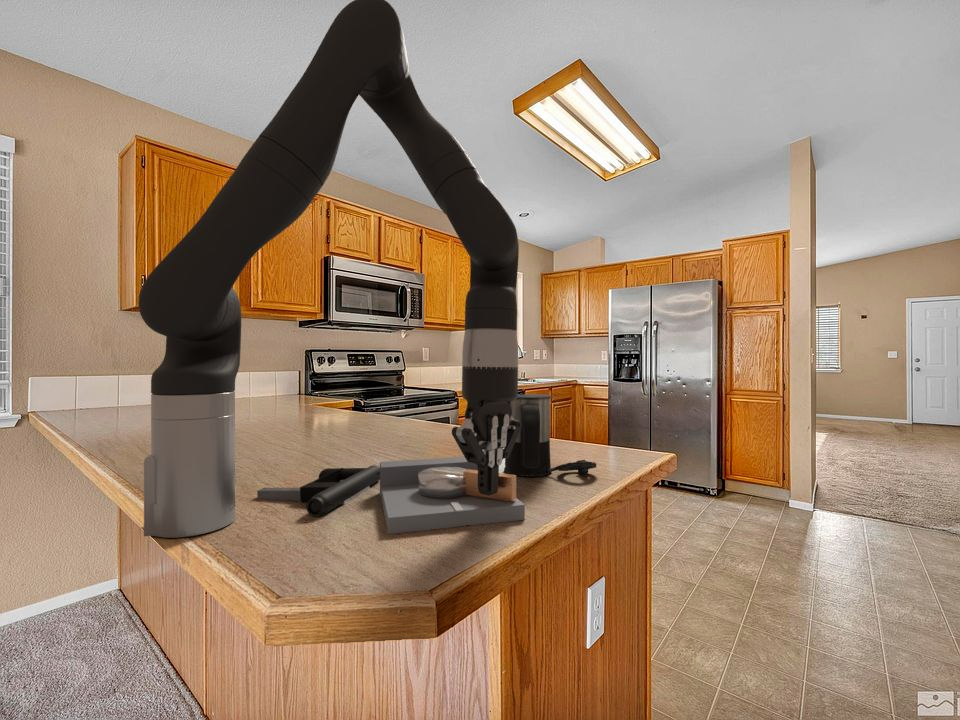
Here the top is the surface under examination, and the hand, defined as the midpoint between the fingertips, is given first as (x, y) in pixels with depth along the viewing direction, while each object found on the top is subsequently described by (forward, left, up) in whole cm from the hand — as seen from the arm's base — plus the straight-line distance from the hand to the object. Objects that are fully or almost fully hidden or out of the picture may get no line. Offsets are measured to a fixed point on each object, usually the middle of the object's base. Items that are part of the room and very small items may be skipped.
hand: (488, 493), depth 60 cm
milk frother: (+18, +21, -4) cm, 28 cm away
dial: (-2, +5, -1) cm, 6 cm away
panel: (-4, +8, -4) cm, 9 cm away
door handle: (-23, +19, -4) cm, 30 cm away
